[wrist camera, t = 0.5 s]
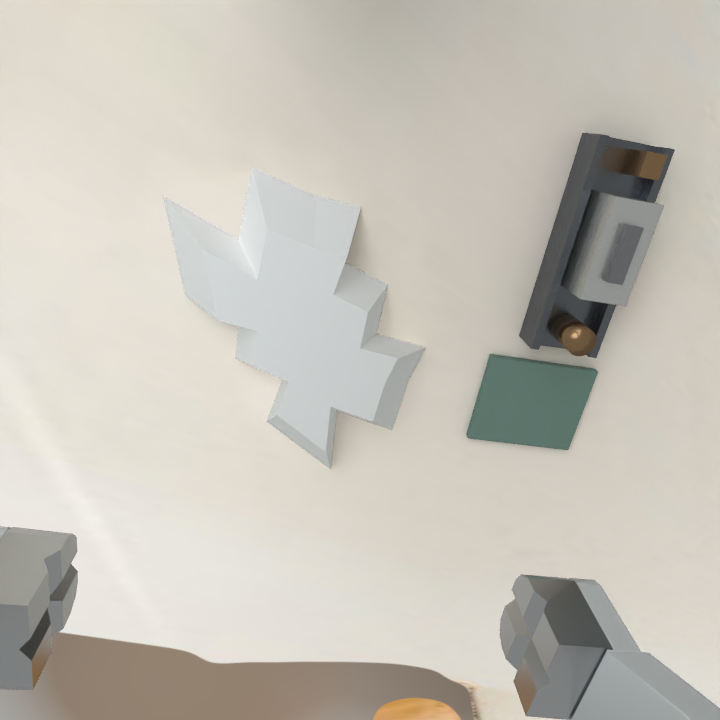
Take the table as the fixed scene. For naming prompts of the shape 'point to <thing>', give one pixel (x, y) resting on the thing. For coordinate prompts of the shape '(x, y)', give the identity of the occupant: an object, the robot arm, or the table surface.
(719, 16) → the table surface
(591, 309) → the dark grey channel holder
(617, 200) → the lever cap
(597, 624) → the robot arm
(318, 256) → the white jagged cross block
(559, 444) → the rubber mat
